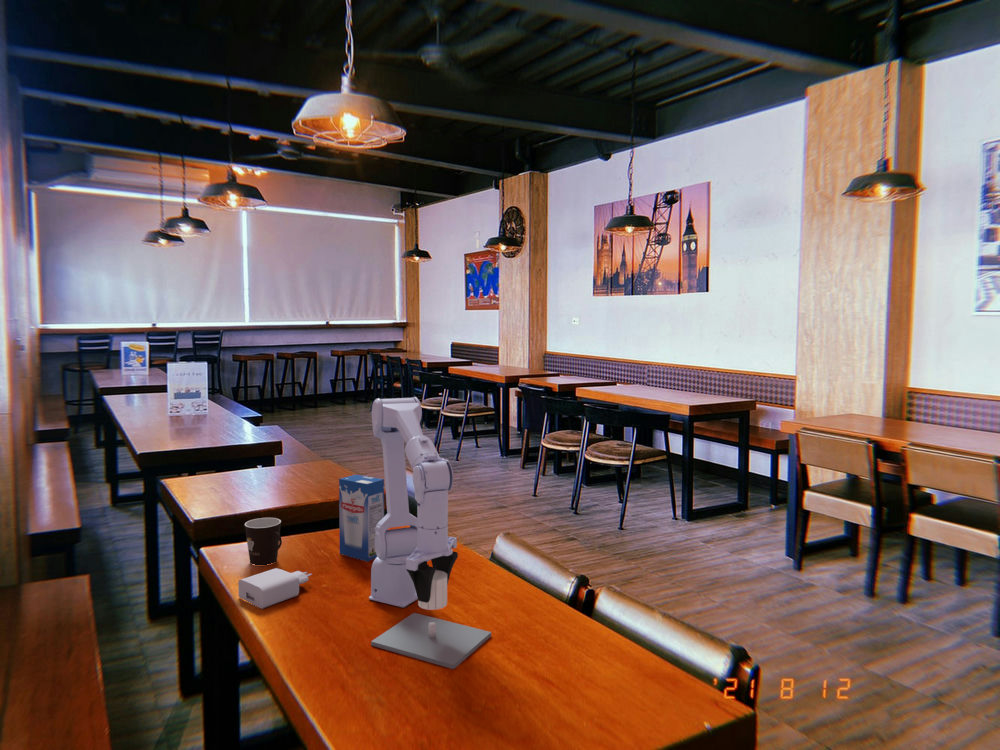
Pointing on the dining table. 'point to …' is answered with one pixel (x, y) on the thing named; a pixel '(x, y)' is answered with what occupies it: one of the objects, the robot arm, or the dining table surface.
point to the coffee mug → (263, 540)
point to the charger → (271, 587)
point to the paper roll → (437, 592)
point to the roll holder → (432, 640)
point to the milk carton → (360, 515)
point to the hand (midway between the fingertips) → (432, 595)
